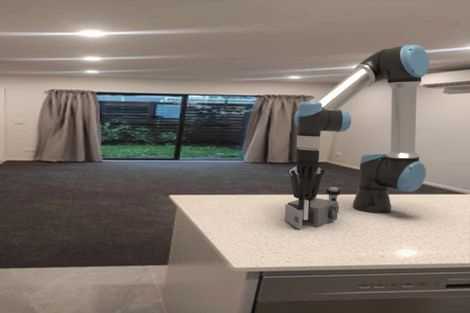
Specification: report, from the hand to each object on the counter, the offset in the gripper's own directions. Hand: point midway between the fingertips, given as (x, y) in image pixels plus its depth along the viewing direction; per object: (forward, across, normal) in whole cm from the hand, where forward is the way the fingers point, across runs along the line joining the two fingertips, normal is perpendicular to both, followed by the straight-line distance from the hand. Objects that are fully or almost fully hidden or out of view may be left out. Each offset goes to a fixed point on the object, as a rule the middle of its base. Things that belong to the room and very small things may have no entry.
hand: (303, 218), depth 134 cm
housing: (+3, -9, -8) cm, 12 cm away
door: (+3, +2, -3) cm, 5 cm away
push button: (+3, -22, -16) cm, 27 cm away
